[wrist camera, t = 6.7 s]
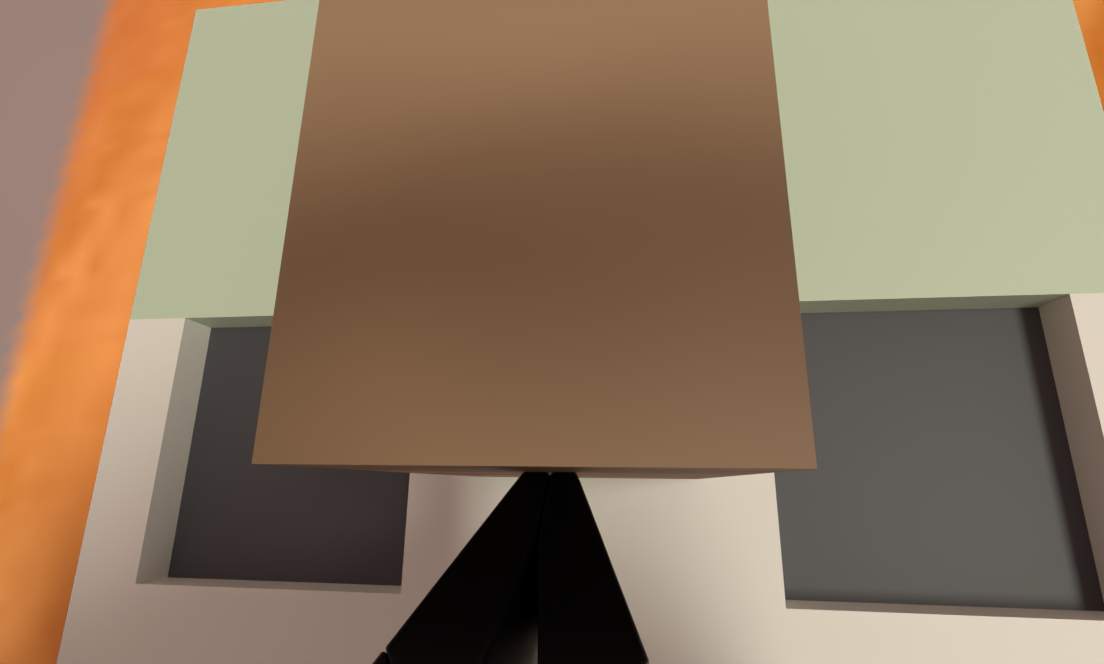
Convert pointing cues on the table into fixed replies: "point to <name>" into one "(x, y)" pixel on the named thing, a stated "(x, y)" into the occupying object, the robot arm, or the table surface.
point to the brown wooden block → (539, 246)
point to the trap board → (668, 504)
